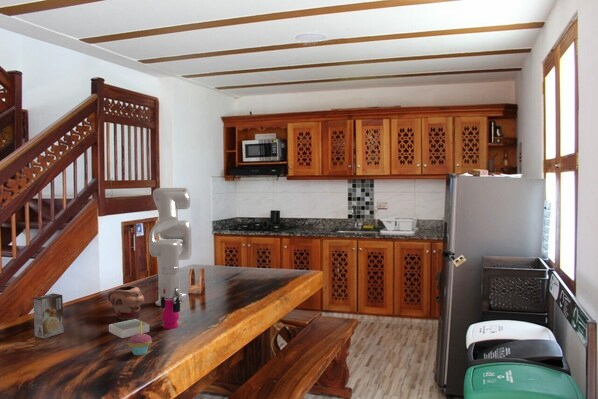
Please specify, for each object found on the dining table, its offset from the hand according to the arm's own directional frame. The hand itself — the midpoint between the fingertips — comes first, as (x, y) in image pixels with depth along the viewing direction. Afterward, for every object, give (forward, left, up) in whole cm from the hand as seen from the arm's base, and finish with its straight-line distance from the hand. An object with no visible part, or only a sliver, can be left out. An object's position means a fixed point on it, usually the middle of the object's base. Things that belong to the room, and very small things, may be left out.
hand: (170, 309), depth 217 cm
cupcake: (+25, +21, -8) cm, 34 cm away
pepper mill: (0, 0, -8) cm, 8 cm away
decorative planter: (+7, -28, -8) cm, 30 cm away
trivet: (+16, -6, -7) cm, 19 cm away
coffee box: (+41, -26, -8) cm, 49 cm away
